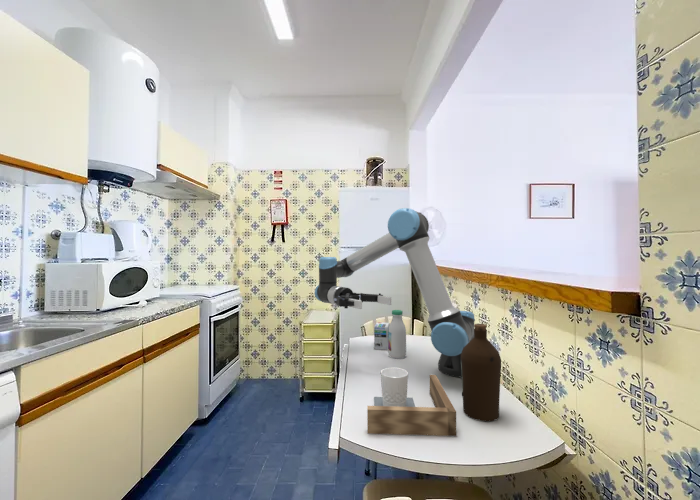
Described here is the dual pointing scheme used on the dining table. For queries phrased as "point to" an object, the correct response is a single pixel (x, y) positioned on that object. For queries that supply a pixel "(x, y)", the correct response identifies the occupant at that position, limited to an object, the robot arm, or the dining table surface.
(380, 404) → the slate mat
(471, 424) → the dining table surface
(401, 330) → the milk bottle
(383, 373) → the white cup
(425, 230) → the robot arm
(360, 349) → the dining table surface
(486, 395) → the brown bottle
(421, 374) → the dining table surface
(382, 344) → the light bulb box
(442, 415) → the corner pen
